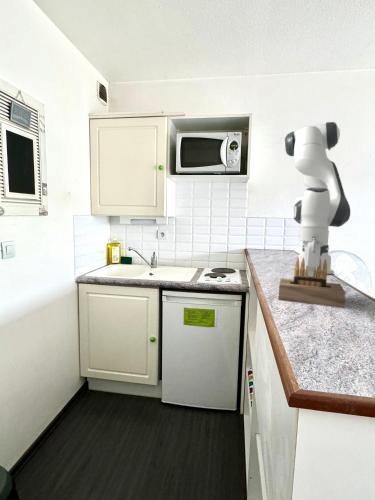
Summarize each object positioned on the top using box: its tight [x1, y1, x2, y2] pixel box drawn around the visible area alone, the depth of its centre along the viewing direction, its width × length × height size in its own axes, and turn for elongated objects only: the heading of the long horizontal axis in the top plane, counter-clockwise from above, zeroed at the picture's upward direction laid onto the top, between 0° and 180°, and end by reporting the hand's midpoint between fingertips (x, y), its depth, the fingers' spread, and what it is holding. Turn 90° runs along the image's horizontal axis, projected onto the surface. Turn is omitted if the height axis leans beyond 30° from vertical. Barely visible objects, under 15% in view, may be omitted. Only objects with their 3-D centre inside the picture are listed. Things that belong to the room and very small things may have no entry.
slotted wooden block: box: [278, 278, 346, 308], centre depth 97 cm, size 11×20×5 cm, turn 69°
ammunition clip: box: [293, 256, 328, 287], centre depth 96 cm, size 11×2×12 cm, turn 67°
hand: (310, 275), depth 96 cm, fingers closed on ammunition clip, 1 cm apart
